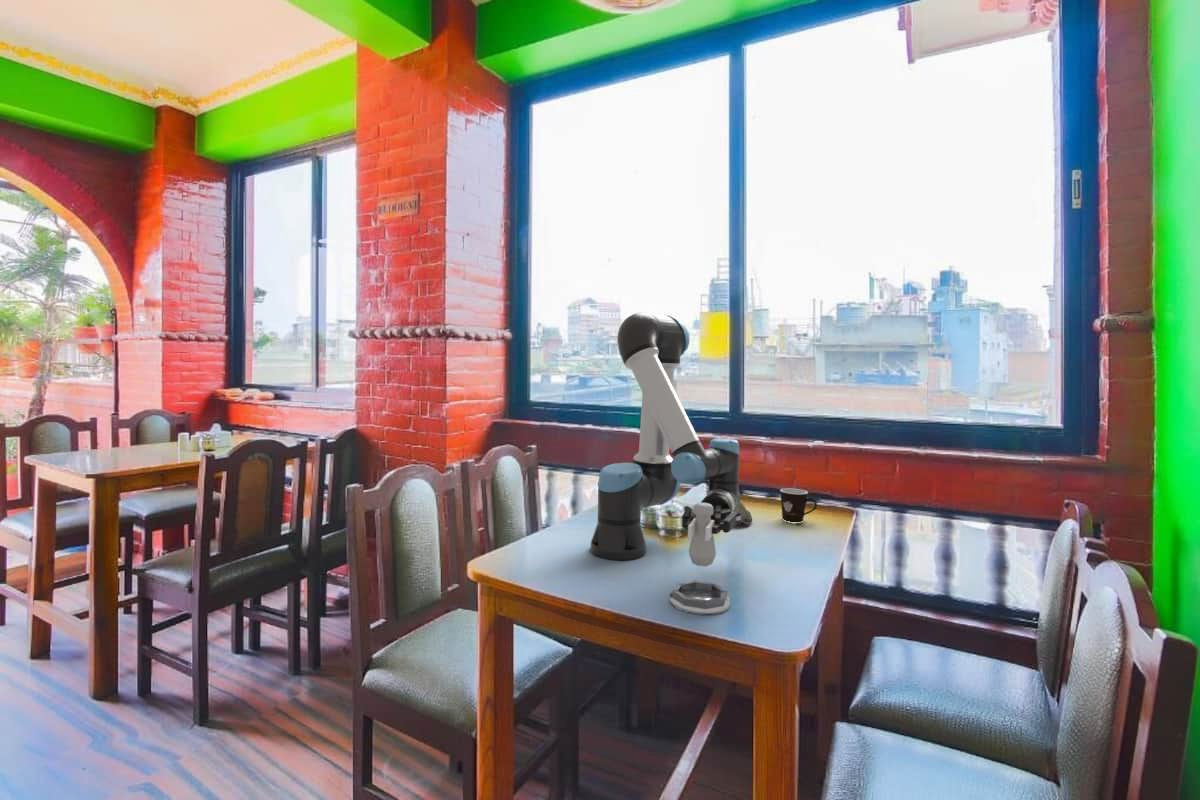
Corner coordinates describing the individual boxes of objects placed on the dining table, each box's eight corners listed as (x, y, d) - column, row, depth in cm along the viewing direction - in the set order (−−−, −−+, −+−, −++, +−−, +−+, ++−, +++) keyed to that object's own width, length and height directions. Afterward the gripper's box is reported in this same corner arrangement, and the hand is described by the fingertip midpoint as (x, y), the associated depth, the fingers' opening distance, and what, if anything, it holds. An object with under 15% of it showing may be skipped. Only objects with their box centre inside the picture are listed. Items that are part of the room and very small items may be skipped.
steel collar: (663, 608, 125) (663, 597, 125) (676, 586, 137) (677, 576, 137) (725, 619, 121) (725, 607, 121) (733, 595, 133) (734, 585, 133)
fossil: (754, 527, 186) (739, 499, 186) (727, 538, 188) (713, 510, 188) (753, 517, 196) (739, 490, 197) (727, 528, 199) (714, 501, 199)
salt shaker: (695, 556, 132) (696, 499, 131) (719, 561, 129) (721, 502, 128) (684, 564, 127) (685, 504, 126) (709, 569, 124) (710, 508, 123)
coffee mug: (773, 518, 200) (775, 489, 199) (795, 516, 202) (797, 487, 202) (794, 528, 189) (796, 497, 188) (817, 526, 191) (819, 495, 190)
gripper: (750, 526, 142) (737, 556, 120) (684, 519, 148) (660, 546, 126) (751, 495, 142) (738, 519, 120) (684, 489, 147) (661, 511, 125)
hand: (698, 533), depth 123 cm, fingers closed on salt shaker, 3 cm apart
